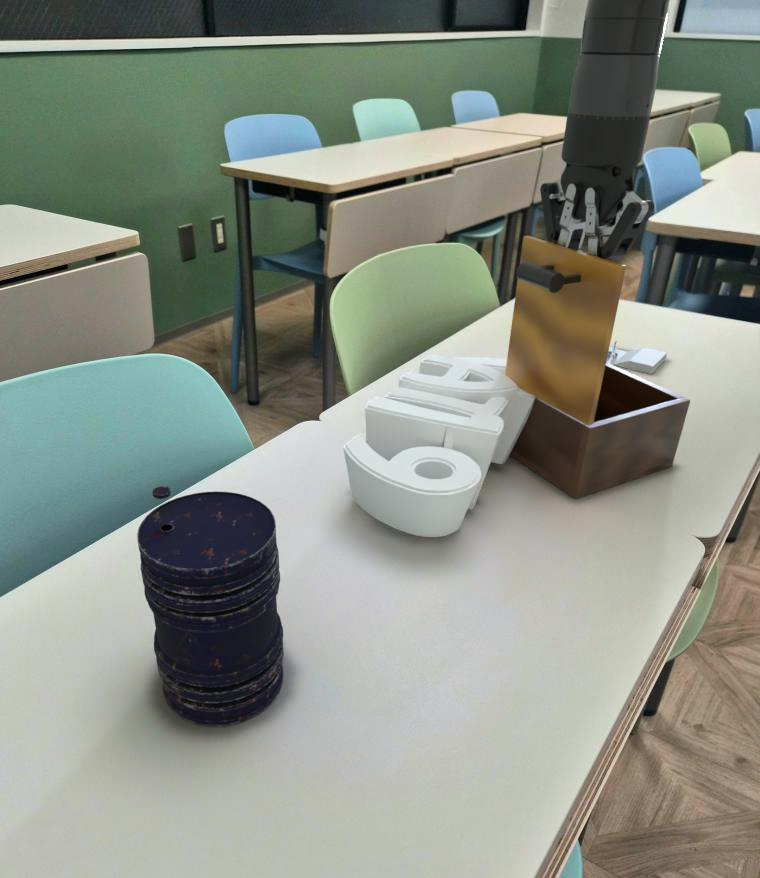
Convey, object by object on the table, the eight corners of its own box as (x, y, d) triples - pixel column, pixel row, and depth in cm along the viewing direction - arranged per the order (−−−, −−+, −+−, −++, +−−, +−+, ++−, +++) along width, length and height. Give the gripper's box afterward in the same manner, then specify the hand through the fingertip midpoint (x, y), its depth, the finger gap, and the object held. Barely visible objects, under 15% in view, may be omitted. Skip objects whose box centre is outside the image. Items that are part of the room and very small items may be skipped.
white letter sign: (446, 403, 103) (452, 332, 98) (561, 431, 96) (574, 355, 91) (308, 521, 78) (306, 432, 72) (451, 571, 70) (460, 477, 65)
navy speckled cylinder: (288, 636, 64) (280, 455, 54) (281, 727, 55) (271, 531, 46) (173, 637, 63) (145, 455, 54) (149, 728, 55) (111, 532, 46)
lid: (528, 235, 80) (491, 240, 78) (626, 265, 70) (586, 272, 68) (509, 378, 89) (475, 386, 87) (593, 424, 79) (556, 434, 76)
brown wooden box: (589, 421, 100) (602, 360, 96) (672, 466, 90) (690, 399, 85) (497, 447, 94) (506, 382, 89) (575, 499, 83) (590, 428, 79)
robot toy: (651, 374, 115) (655, 358, 114) (578, 356, 121) (580, 342, 120) (665, 360, 120) (668, 345, 119) (594, 344, 126) (597, 330, 125)
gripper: (698, 114, 65) (654, 303, 74) (585, 103, 76) (558, 270, 85) (638, 117, 62) (600, 314, 71) (529, 105, 73) (507, 278, 82)
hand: (577, 289), depth 78 cm, fingers open, 3 cm apart
